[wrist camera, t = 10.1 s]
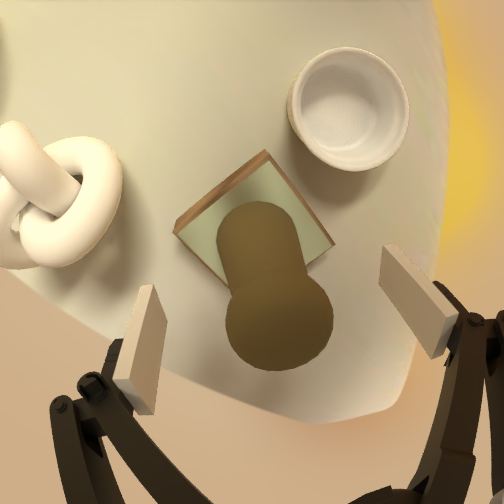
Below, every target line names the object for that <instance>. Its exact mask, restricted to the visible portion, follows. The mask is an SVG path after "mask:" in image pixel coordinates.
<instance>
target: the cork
mask: <svg viewBox="0 0 504 504" xmlns="http://www.w3.org/2000/svg"><path fill="white" fill-rule="evenodd" d="M216 244H217V249H218V253H219V256H220V260H221V263H222V266H223V269H224V273H225V276H226V279H227V282H228V285H229V289H230V292H231V295H232V298H231V300H230V302H229V305H228V309H227V315H226V331H227V335H228V339H229V342H230V344H231V346H232V348H233V349H234V351H235V352H236V353H237V354H238V356H239V357H240V358H241V359H243V360H244V361H245V362H247V363H248V364H250V365H252V366H253V367H255V368H259V369H263V370H266V371H283V370H288V369H293V368H296V367H298V366H301V365H303V364H306V363H308V362H309V361H310V360H312V359H313V358H315V357H316V356H318V354H319V353H320V352H321V351H322V350H323V349H324V348H325V347H326V345H327V342H328V340H329V338H330V336H331V333H332V330H333V318H334V316H333V309H332V306H331V304H330V301H329V299H328V296H327V294H326V293H325V291H324V290H323V289H322V288H321V287H320V286H319V285H318V284H317V283H316V282H315V281H314V280H313V279H312V278H311V277H309V276H308V274H307V270H306V266H305V262H304V258H303V253H302V249H301V245H300V242H299V238H298V234H297V230H296V227H295V225H294V222H293V220H292V218H291V217H290V215H289V214H288V213H287V212H286V211H285V210H284V209H283V208H281V207H279V206H277V205H275V204H273V203H269V202H262V201H255V202H249V203H244V204H242V205H240V206H238V207H236V208H234V209H232V210H231V211H230V212H229V213H228V214H227V215H226V216H225V217H224V218H223V220H222V222H221V224H220V226H219V228H218V230H217V237H216Z"/></svg>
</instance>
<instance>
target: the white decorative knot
mask: <svg viewBox="0 0 504 504" xmlns="http://www.w3.org/2000/svg"><path fill="white" fill-rule="evenodd" d="M0 171H1V172H2V174H3V175H2V176H1V177H0V267H3V268H7V269H18V270H19V269H27V268H34V267H37V266H42V267H48V268H60V267H65V266H68V265H71V264H72V263H74V262H76V261H78V260H80V259H81V258H82V257H83V256H85V255H86V254H87V253H88V252H90V251H91V250H92V249H93V247H94V246H95V245H96V244H97V243H98V242H99V241H100V240H101V238H102V237H103V235H104V234H105V232H106V231H107V230H108V228H109V226H110V224H111V222H112V220H113V218H114V217H115V215H116V212H117V209H118V206H119V203H120V199H121V193H122V184H123V174H122V167H121V163H120V160H119V158H118V157H117V155H116V154H115V152H114V151H113V150H112V148H111V147H110V146H109V145H108V144H106V143H105V142H104V141H101V140H99V139H97V138H92V137H72V138H67V139H63V140H60V141H57V142H55V143H52V144H50V145H48V146H46V147H44V148H41V146H40V145H39V144H38V142H37V141H36V140H35V138H34V137H33V136H32V134H31V133H30V132H29V130H28V129H27V128H26V127H25V126H24V125H23V124H22V123H21V122H17V121H9V122H7V123H5V124H2V125H1V126H0ZM72 175H83V182H82V186H81V185H80V183H79V182H78V181H77V180H75V179H74V178H73V177H72ZM19 212H20V215H19V228H20V232H19V231H14V230H12V229H11V228H10V226H11V223H12V221H13V220H14V218H15V217H16V216H17V215H18V213H19ZM54 216H56V217H57V218H56V219H55V220H54Z"/></svg>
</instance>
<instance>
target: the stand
mask: <svg viewBox="0 0 504 504" xmlns="http://www.w3.org/2000/svg"><path fill="white" fill-rule="evenodd" d="M255 201H262V202H269V203H273V204H275V205H277V206H279V207H281V208H283V209H284V210H285V211H286V212H287V213H288V214H289V215H290V217H291V218H292V220H293V222H294V225H295V227H296V230H297V234H298V238H299V242H300V245H301V249H302V253H303V258H304V262H305V266H306V265H307V264H309V263H310V262H312V261H313V260H314V259H316V258H317V257H319V256H320V255H321V254H323V253H324V252H326V251H327V250H328V249H330V248H331V247H332V246H334V245H335V243H334V241H333V240H332V239H331V237H330V236H329V234H328V233H327V231H326V230H325V228H324V227H323V226H322V224H321V223H320V221H319V220H318V218H317V217H316V216H315V214H314V213H313V211H312V210H311V209H310V207H309V206H308V205H307V203H306V202H305V200H304V199H303V198H302V196H301V195H300V194H299V192H298V191H297V190H296V188H295V187H294V185H293V184H292V183H291V181H290V180H289V179H288V177H287V176H286V175H285V174H284V172H283V171H282V170H281V168H280V167H279V166H278V164H277V163H276V162H275V160H274V159H273V158H272V157H271V155H270V154H269V153H268V152H267V151H266V150H265V149H264V150H263V151H261V152H260V153H259V154H257V155H256V156H255V157H253V158H252V159H251V160H249V161H248V162H247V163H246V164H244V165H243V166H242V167H240V168H239V169H238V170H237V171H235V172H234V173H233V174H232V175H230V176H229V177H228V178H226V179H225V180H224V181H223V182H221V183H220V184H219V185H218V186H217V187H215V188H214V189H213V190H212V191H210V192H209V193H208V194H207V195H205V196H204V197H203V198H202V199H201V200H199V201H198V202H197V203H196V204H195V205H193V206H192V207H191V208H190V209H189V210H188V211H186V212H185V213H184V214H183V215H182V216H180V217H179V218H178V219H177V220H176V223H175V226H174V230H173V233H174V234H175V235H176V236H177V237H178V239H179V240H180V241H181V242H182V243H183V244H184V245H185V246H186V247H187V248H188V249H189V250H190V251H191V252H192V253H193V254H194V255H195V256H196V257H197V258H198V259H199V260H200V261H201V262H202V263H203V264H204V265H206V266H207V267H208V268H209V269H210V270H211V271H212V272H213V273H214V274H215V275H216V276H217V277H218V278H219V279H220V280H221V281H222V282H223V283H224V284H225V285H226V286H227V287H228V288H229V285H228V282H227V279H226V276H225V273H224V269H223V266H222V263H221V260H220V256H219V253H218V249H217V244H216V237H217V230H218V228H219V226H220V224H221V222H222V220H223V218H224V217H225V216H226V215H227V214H228V213H229V212H230V211H231V210H232V209H234V208H236V207H238V206H240V205H242V204H244V203H249V202H255Z"/></svg>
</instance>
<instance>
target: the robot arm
mask: <svg viewBox="0 0 504 504" xmlns="http://www.w3.org/2000/svg"><path fill="white" fill-rule="evenodd" d="M379 285H380V286H381V288H382V289H383V290H384V292H385V293H386V295H387V296H388V297H389V299H390V300H391V301H392V303H393V304H394V306H395V307H396V308H397V310H398V311H399V313H400V314H401V316H402V317H403V318H404V320H405V321H406V323H407V324H408V326H409V327H410V329H411V330H412V331H413V333H414V334H415V336H416V337H417V339H418V340H419V342H420V343H421V345H422V346H423V348H424V349H425V351H426V353H427V354H428V356H429V357H430V359H434V358H436V357H438V356H441V355H443V354H444V351H445V349H446V346H447V348H448V349H449V350H450V353H449V355H448V358H447V360H446V362H445V364H444V366H446V371H445V376H444V381H443V385H442V390H441V394H440V398H439V402H438V407H437V410H436V414H435V418H434V421H433V424H432V428H431V431H430V434H429V437H428V441H427V444H426V447H425V450H424V453H423V455H422V458H421V461H420V464H419V467H418V469H417V472H416V474H415V475H414V477H413V479H412V480H411V482H410V484H409V486H408V488H407V489H392V488H391V485H390V486H387V487H384V488H381V489H379V490H376V491H373V492H370V493H367V494H365V495H363V496H361V497H359V498H358V499H356V500H354V501H352V502H350V503H348V504H464V501H465V498H466V495H467V491H468V488H469V485H470V481H471V478H472V474H473V471H474V466H475V461H476V457H475V456H474V455H473V448H474V443H475V438H476V433H477V428H478V422H479V416H480V410H481V403H482V395H483V385H484V379H485V385H486V392H487V400H488V409H489V418H490V431H491V452H492V453H491V457H492V458H491V461H492V470H491V471H492V472H491V475H492V476H491V478H492V492H493V498H492V499H491V501H490V504H504V310H502V311H500V312H498V314H497V317H496V319H484V318H483V317H482V316H481V315H479V314H477V313H472V312H470V313H469V312H468V311H467V310H466V309H465V308H464V306H463V305H462V304H461V303H460V302H459V301H458V300H457V299H456V297H454V295H453V294H452V293H451V292H450V291H449V290H448V289H447V288H446V287H445V286H444V285H443V284H441V283H439V282H438V281H434V282H431V281H430V280H429V279H428V278H427V277H426V276H425V274H424V273H423V272H422V271H421V270H420V269H419V268H418V267H417V266H416V265H415V264H414V263H413V262H412V261H411V260H410V259H409V258H408V257H407V256H406V255H405V254H404V253H403V252H402V251H401V250H400V249H399V248H398V247H397V246H396V245H395V244H394V243H392V244H386V245H383V247H382V258H381V268H380V277H379ZM167 322H168V321H167V319H166V316H165V313H164V311H163V308H162V306H161V303H160V300H159V298H158V295H157V292H156V290H155V287H154V284H150V285H144V286H141V287H140V290H139V293H138V296H137V299H136V302H135V305H134V308H133V311H132V314H131V317H130V320H129V324H128V327H127V330H126V333H125V337H124V338H123V339H115V340H114V341H113V343H112V344H111V345H110V346H109V350H108V353H107V356H106V359H105V363H104V365H103V368H102V372H101V374H100V373H98V372H89V373H87V374H85V375H83V376H82V377H81V378H80V380H79V381H78V383H77V390H78V392H79V393H80V394H81V396H82V397H83V398H81V399H77V400H74V401H72V400H71V398H70V397H68V396H66V395H62V396H58V397H56V398H55V399H54V400H53V401H52V403H51V405H50V410H49V411H50V420H51V428H52V435H53V441H54V447H55V453H56V458H57V463H58V468H59V473H60V477H61V482H62V485H63V490H64V494H65V497H66V501H67V504H125V502H124V499H123V497H122V495H121V492H120V490H119V487H118V485H117V482H116V479H115V477H114V474H113V471H112V469H111V465H110V463H109V460H108V457H107V454H106V450H105V447H104V445H103V441H102V436H106V435H107V436H108V438H109V439H110V441H111V442H112V444H113V445H114V446H115V448H116V450H117V451H118V453H119V454H120V456H121V457H122V458H123V460H124V461H125V462H126V464H127V465H128V467H129V468H130V469H131V471H132V472H133V473H134V475H135V476H136V477H137V478H138V480H139V481H140V482H141V484H142V485H143V486H144V487H145V489H146V490H147V491H148V492H149V493H150V495H151V496H152V497H153V498H154V499H155V501H156V502H157V503H158V504H213V503H212V502H211V501H210V500H209V499H208V498H207V497H206V496H204V494H202V493H201V492H200V491H199V490H198V489H197V488H196V487H195V486H194V485H193V484H192V483H191V482H190V481H189V480H188V479H187V478H186V477H185V476H184V475H183V474H182V473H181V472H180V471H179V470H178V469H177V468H176V466H174V464H173V463H172V462H171V461H170V460H169V459H168V458H167V457H166V456H165V454H164V453H163V452H162V451H161V450H160V449H159V448H158V447H157V445H156V444H155V443H154V442H153V441H152V439H151V438H150V437H149V436H148V435H147V434H146V432H145V431H144V430H143V429H142V427H141V426H140V425H139V424H138V422H137V421H136V420H135V418H134V417H133V411H134V410H135V411H136V412H137V414H138V415H154V410H155V402H156V394H157V386H158V379H159V372H160V365H161V358H162V352H163V346H164V339H165V333H166V328H167Z"/></svg>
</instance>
